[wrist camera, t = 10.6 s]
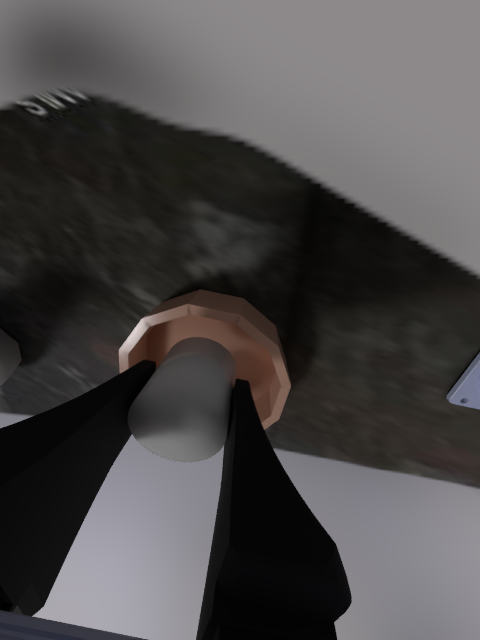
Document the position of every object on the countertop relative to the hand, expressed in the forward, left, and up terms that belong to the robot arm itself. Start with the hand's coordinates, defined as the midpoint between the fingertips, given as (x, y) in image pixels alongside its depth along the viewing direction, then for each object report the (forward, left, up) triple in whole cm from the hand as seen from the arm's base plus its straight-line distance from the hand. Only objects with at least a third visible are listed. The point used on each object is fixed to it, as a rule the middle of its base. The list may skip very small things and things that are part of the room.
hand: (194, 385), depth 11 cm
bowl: (0, +2, -6) cm, 6 cm away
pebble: (0, 0, -2) cm, 2 cm away
